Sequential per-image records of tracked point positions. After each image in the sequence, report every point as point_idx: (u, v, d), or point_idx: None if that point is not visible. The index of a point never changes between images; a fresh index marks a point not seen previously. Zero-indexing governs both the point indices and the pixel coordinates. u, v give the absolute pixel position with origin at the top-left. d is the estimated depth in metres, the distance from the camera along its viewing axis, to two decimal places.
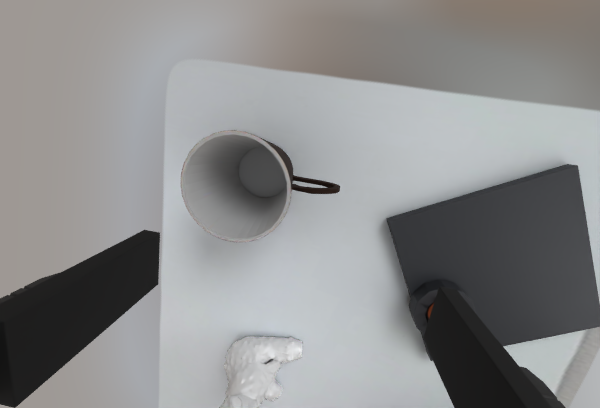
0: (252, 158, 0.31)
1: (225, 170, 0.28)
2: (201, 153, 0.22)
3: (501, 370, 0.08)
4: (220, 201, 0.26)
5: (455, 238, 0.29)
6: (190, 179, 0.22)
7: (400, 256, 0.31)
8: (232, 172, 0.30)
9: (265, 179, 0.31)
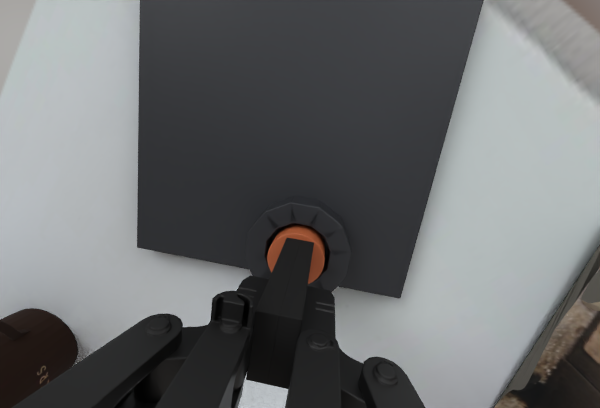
0: None
1: None
2: None
3: (289, 283, 0.11)
4: None
5: (196, 171, 0.18)
6: None
7: (195, 257, 0.19)
8: None
9: None
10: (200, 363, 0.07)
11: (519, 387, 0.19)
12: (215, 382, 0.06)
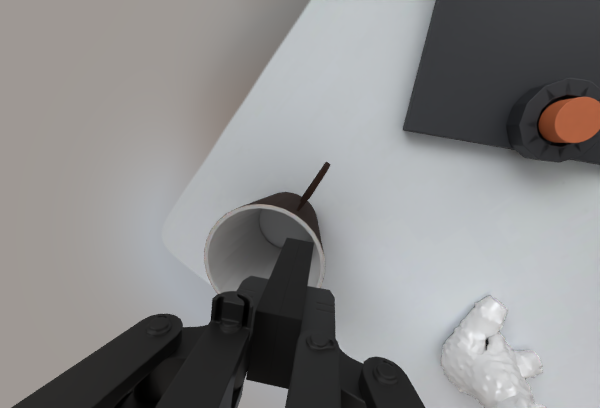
0: (268, 225, 0.30)
1: (259, 256, 0.27)
2: (219, 270, 0.21)
3: (289, 283, 0.11)
4: None
5: (472, 63, 0.23)
6: None
7: (454, 136, 0.24)
8: (267, 251, 0.28)
9: (293, 225, 0.29)
10: (200, 363, 0.07)
11: None
12: (215, 382, 0.06)
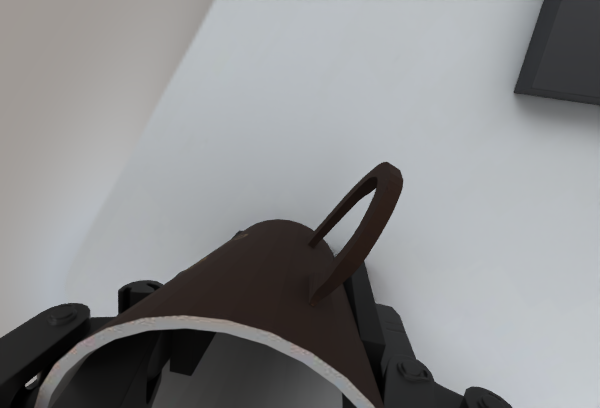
0: None
1: (228, 352, 0.13)
2: None
3: (356, 301, 0.10)
4: None
5: None
6: None
7: None
8: None
9: None
10: (106, 355, 0.07)
11: None
12: (124, 369, 0.06)
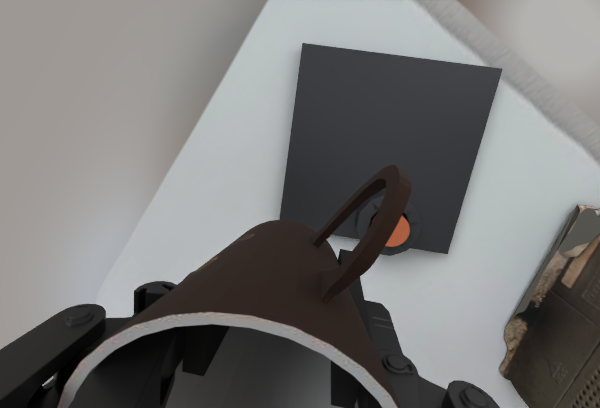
0: None
1: (234, 351, 0.14)
2: None
3: None
4: None
5: (323, 177, 0.29)
6: None
7: (317, 230, 0.30)
8: (250, 331, 0.15)
9: None
10: (122, 355, 0.07)
11: (522, 310, 0.30)
12: (139, 370, 0.06)
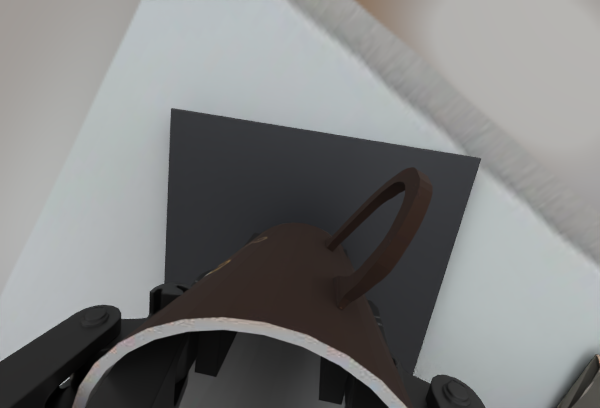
0: None
1: (246, 354, 0.14)
2: None
3: None
4: None
5: None
6: None
7: None
8: (262, 334, 0.15)
9: None
10: (137, 355, 0.07)
11: None
12: (154, 371, 0.06)
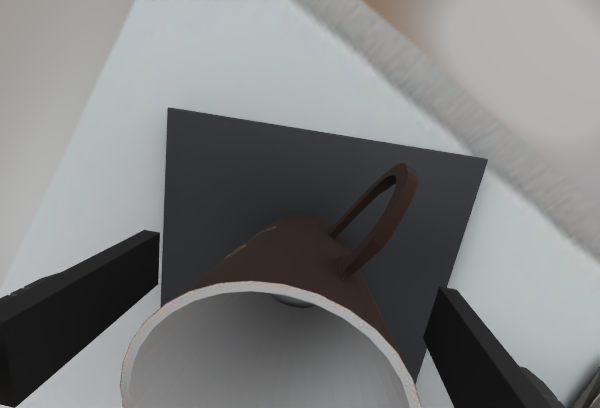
0: None
1: (256, 333, 0.15)
2: None
3: (501, 370, 0.08)
4: (295, 393, 0.13)
5: None
6: None
7: None
8: (270, 316, 0.17)
9: None
10: None
11: None
12: None
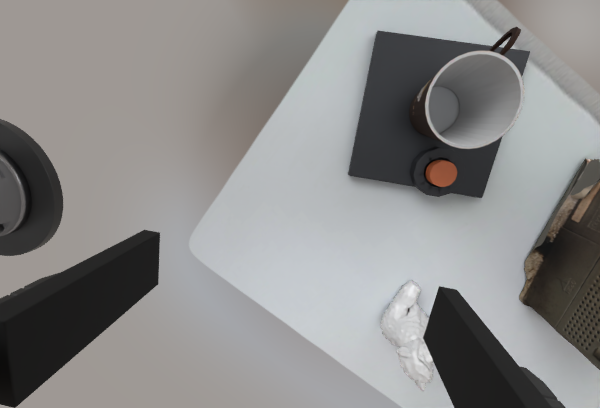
0: None
1: None
2: None
3: (501, 370, 0.08)
4: (454, 139, 0.31)
5: (386, 135, 0.37)
6: None
7: (379, 179, 0.39)
8: None
9: (440, 113, 0.36)
10: None
11: (540, 244, 0.39)
12: None
